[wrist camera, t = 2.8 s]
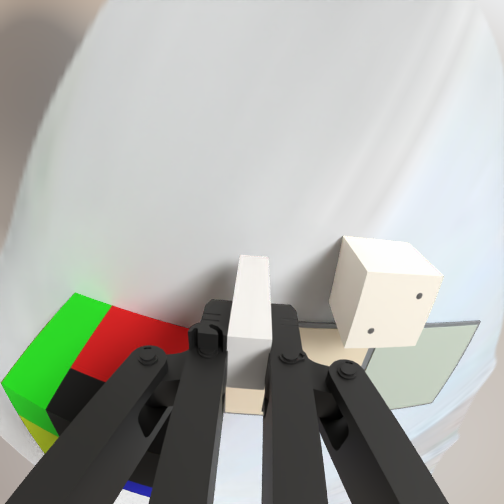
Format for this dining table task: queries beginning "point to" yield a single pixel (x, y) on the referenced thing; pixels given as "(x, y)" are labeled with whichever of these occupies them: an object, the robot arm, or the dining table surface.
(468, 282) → the dining table surface
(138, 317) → the puzzle toy
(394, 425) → the robot arm
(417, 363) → the board
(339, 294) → the die
